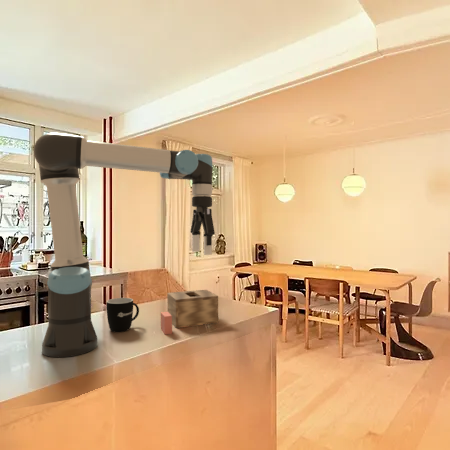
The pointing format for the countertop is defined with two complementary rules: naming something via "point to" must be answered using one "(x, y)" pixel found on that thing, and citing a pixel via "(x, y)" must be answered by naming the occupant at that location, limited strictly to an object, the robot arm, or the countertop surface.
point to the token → (166, 322)
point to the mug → (120, 314)
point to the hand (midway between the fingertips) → (201, 253)
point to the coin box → (192, 308)
